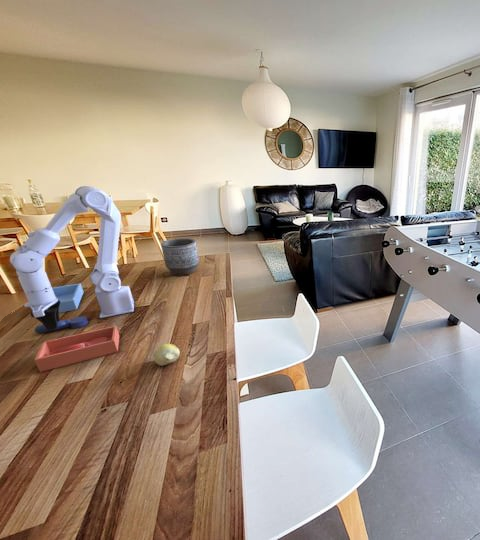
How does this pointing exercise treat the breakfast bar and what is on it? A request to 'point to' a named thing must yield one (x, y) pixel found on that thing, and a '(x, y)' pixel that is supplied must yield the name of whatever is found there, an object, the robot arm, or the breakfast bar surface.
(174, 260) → the planter
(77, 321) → the navy spoon
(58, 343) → the red bin
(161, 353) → the fruit
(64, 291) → the blue bin
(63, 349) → the red spoon
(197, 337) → the breakfast bar surface
